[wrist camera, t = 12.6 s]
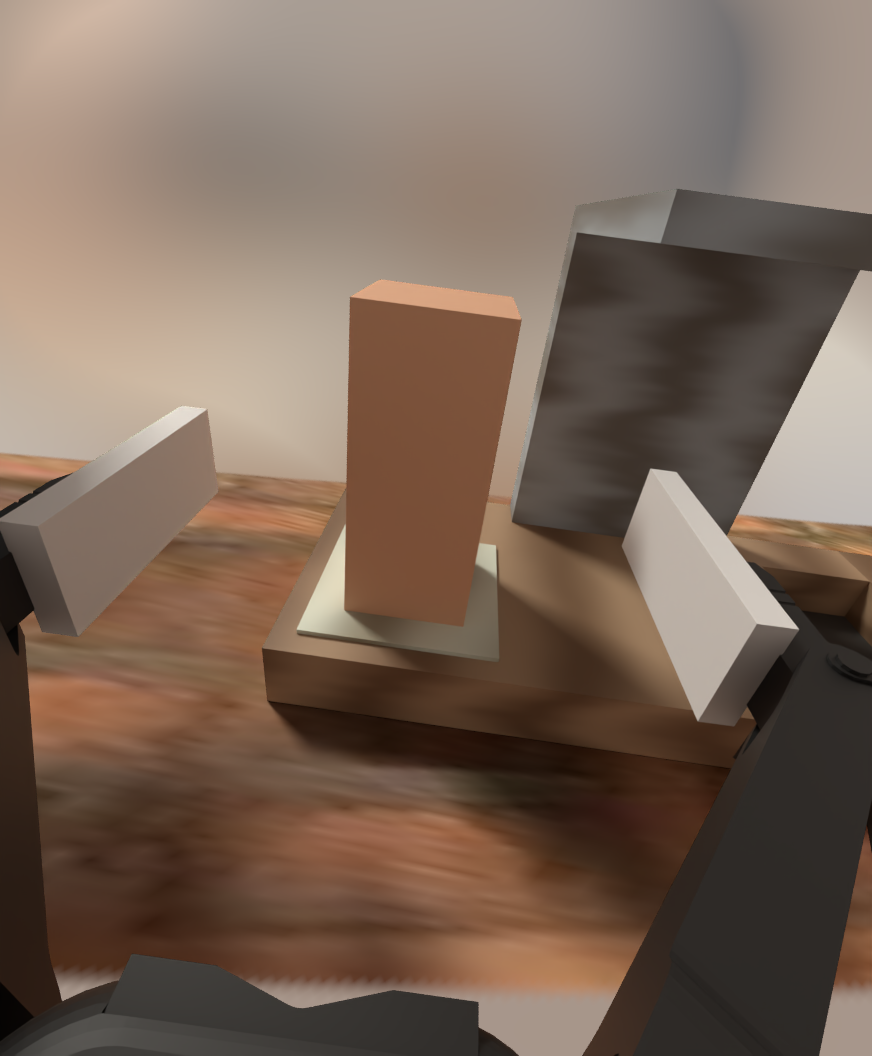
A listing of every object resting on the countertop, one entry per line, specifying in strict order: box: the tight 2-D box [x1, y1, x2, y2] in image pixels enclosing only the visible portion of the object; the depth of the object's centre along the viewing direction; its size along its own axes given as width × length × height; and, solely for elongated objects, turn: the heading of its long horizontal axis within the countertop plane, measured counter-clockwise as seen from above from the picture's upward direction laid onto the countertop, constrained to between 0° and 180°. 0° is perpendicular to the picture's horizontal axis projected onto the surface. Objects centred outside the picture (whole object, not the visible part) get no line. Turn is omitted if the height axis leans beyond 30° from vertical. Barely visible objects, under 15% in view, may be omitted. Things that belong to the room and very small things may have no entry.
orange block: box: [344, 279, 521, 627], centre depth 20 cm, size 5×5×12 cm
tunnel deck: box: [262, 189, 872, 768], centre depth 21 cm, size 32×14×18 cm, turn 85°
